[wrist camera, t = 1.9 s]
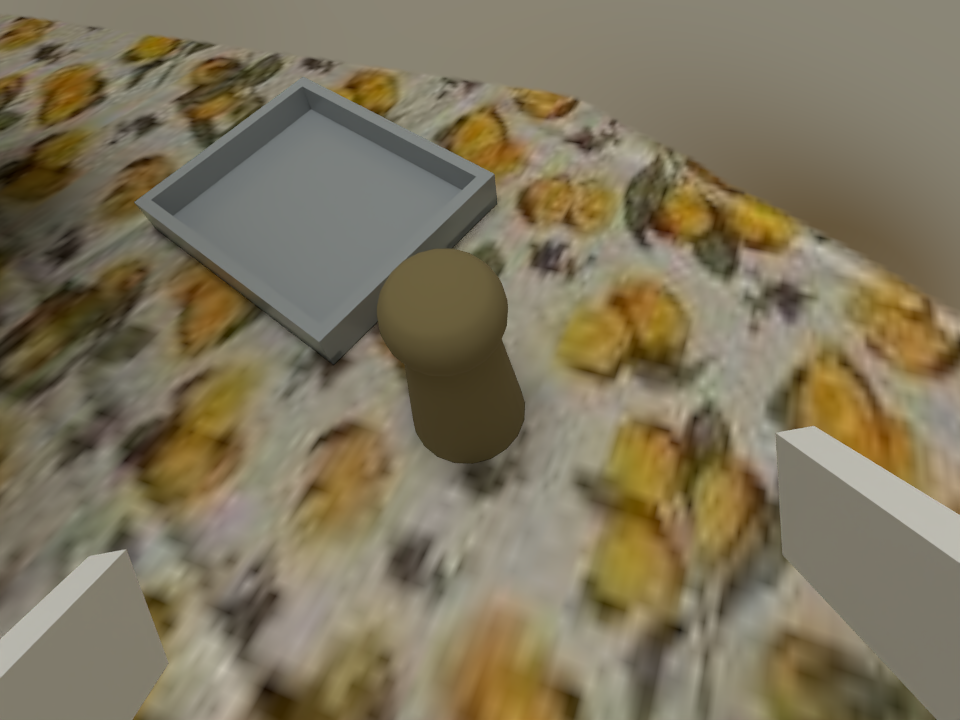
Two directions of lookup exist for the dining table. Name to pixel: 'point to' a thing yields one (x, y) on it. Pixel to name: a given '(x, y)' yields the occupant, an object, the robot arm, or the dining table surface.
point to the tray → (318, 210)
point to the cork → (453, 353)
